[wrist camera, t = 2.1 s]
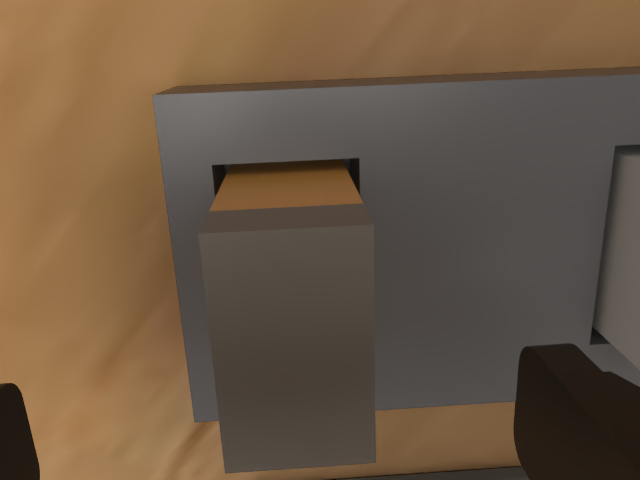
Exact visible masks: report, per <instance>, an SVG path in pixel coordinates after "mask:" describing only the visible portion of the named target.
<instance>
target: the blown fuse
mask: <svg viewBox="0 0 640 480" xmlns="http://www.w3.org/2000/svg"><path fill="white" fill-rule="evenodd" d="M198 236H199V245H200V254H201V263H202V272H203V281H204V290H205V299H206V308H207V316H208V325H209V334H210V343H211V352H212V361H213V370H214V379H215V388H216V397H217V405H218V414H219V423H220V432H221V441H222V450H223V459H224V468H225V473H238V472H252V471H267V470H281V469H296V468H310V467H324V466H339V465H353V464H368V463H376V444H375V321H374V224H373V222H372V220H371V218H370V216H369V214H368V212H367V210H366V208H365V206H364V203H363V201H362V199H361V197H360V195H359V193H358V191H357V189H356V187H355V185H354V183H353V181H352V179H351V177H350V175H349V172H348V170H347V168H346V166H345V164H344V162H343V160H342V159H328V160H307V161H286V162H265V163H244V164H231V166H230V168H229V170H228V172H227V174H226V176H225V178H224V180H223V182H222V185H221V187H220V189H219V191H218V193H217V195H216V197H215V199H214V201H213V204H212V206H211V208H210V210H209V212H208V214H207V216H206V218H205V221H204V223H203V225H202V227H201V229H200V231H199V233H198Z"/></svg>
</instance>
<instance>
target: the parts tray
mask: <svg viewBox="0 0 640 480" xmlns="http://www.w3.org/2000/svg"><path fill="white" fill-rule="evenodd" d="M338 480H529V478H528V476H527V474H526V473H525V471H524V469H523V467H509V468H495V469H480V470H466V471H452V472H438V473H423V474H409V475H395V476H381V477H366V478H352V479H338Z"/></svg>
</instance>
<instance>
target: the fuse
mask: <svg viewBox="0 0 640 480" xmlns="http://www.w3.org/2000/svg"><path fill="white" fill-rule="evenodd" d="M592 327H593V328H594V329H596V330H597V331H598V332H599V333H600V334H601V335H602V336H603V337H604V338H605V339H606V340H608V341H609V342H610V343H611V344H612V345H613V346H614V347H615V348H616V349H617V350H618V351H620V352H621V353H622V354H623V355H624V356H625V357H626V358H627V359H628V360H629V361H630V362H631V363H633V364H634V365H635V366H636V367H637V368H638V369H639V370H640V144H639V145H619V146H615V151H614V159H613V166H612V174H611V182H610V190H609V198H608V205H607V213H606V221H605V229H604V236H603V244H602V252H601V260H600V268H599V275H598V283H597V291H596V299H595V307H594V314H593V322H592Z"/></svg>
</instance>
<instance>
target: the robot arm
mask: <svg viewBox="0 0 640 480" xmlns="http://www.w3.org/2000/svg"><path fill="white" fill-rule="evenodd" d="M514 441H515V446H516V451H517V455H518V458H519V461H520V463H521V465H522V467H523V469H524V471H525V473H526V474H527V476H528V478H529V480H640V387H639V386H637V385H635V384H633V383H631V382H630V381H628V380H626V379H624V378H622V377H620V376H618V375H617V374H615V373H613V372H611V371H608V372H603V371H602V370H601V369H600V368H599V367H598V366H597V365H595V364H594V363H593V362H592V361H591V360H590V359H589V358H588V357H587V356H586V355H585V354H584V353H583V352H582V351H581V350H580V349H579V348H578V347H577V346H576V345H575V344H573V343H563V344H550V345H536V346H526V347H524V348H523V349H522V351H521V353H520V357H519V365H518V378H517V390H516V403H515V416H514ZM0 480H40V469H39V463H38V458H37V454H36V450H35V446H34V442H33V438H32V434H31V430H30V425H29V421H28V417H27V413H26V409H25V405H24V401H23V397H22V394H21V392H20V390H19V388H18V387H17V386H16V385H15V384H13V383H6V384H0Z"/></svg>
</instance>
